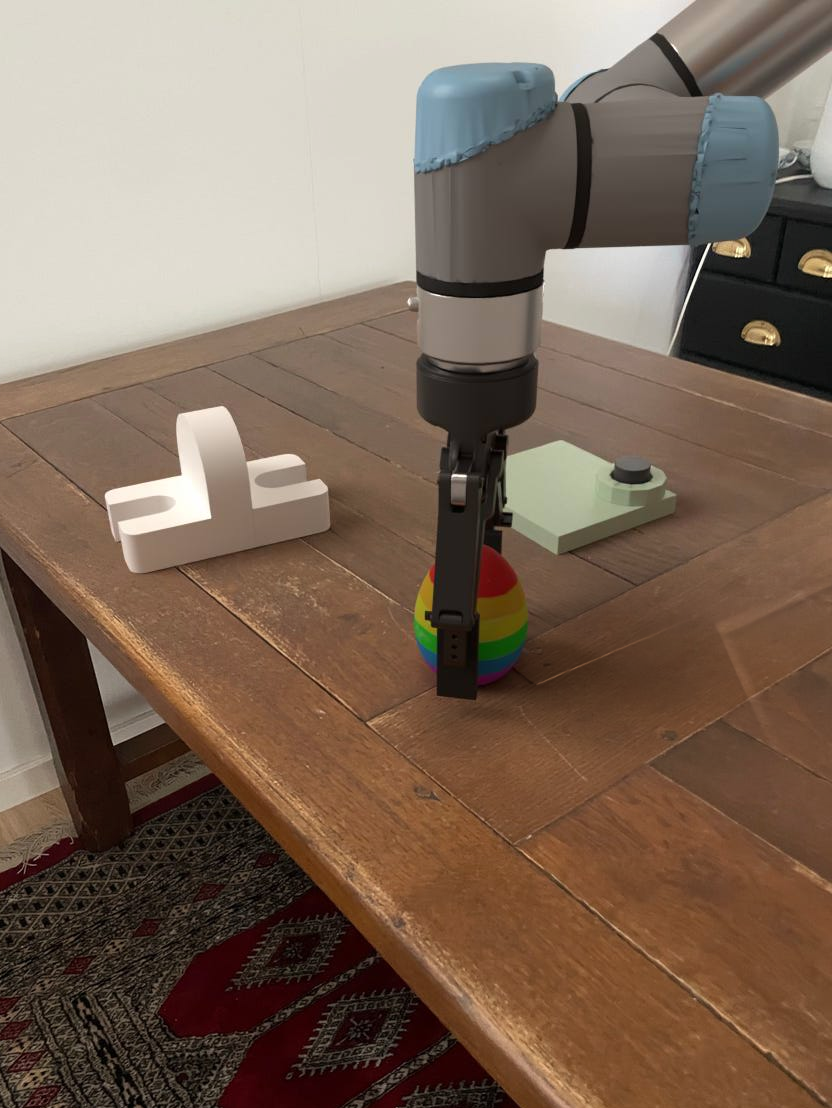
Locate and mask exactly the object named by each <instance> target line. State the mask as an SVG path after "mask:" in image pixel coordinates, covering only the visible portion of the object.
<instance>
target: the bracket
mask: <svg viewBox="0 0 832 1108" xmlns="http://www.w3.org/2000/svg"><path fill="white" fill-rule="evenodd" d="M175 424H176V426H175V431H176V444H177V451H178V458H179V467H180V471H181V475H175V476H172V477H166V478H161V479H156V480H152V481H146V482H142V483H137V484H132V485H127V486H123V487H118V488H117V487H116V488H113V489H111V490H108V491H106V492H105V494H104V499H105V504H106V509H107V515H108V521H109V526H110V531H111V534H112V536H113V538H114V541H115V542H116V543H119V542H121V549H122V553H123V557H124V561H125V564H126V566H127V568H128V570H129V572H130V573H131V572H132V573H133V574H147V573H151V572H155V571H160V570H164V569H169V568H173V567H177V566H182V565H185V564H190V563H194V562H198V561H204V560H208V559H212V558H215V557H221V556H225V555H229V554H233V553H237V552H243V551H246V550H251V549H255V548H259V547H260V548H261V547H264V546H268V545H272V544H273V545H274V544H276V543H281V542H287V541H290V540H294V539H298V538H302V537H307V536H311V535H316V534H321V533H323V532H326V531H328V530H329V529H330V528H331V515H330V514H331V513H330V499H329V487H328V486H327V485H326V484H325V482H323V480H322V479H320V478H317V479H312V480H307V479H308V478H307V465H306V463H305V462H304V461H303V460H302V458H300V456H298V455H297V454H293V453H284V454H279V455H273V456H269V457H264V458H259V459H255V460H254V459H253V460H249V461H247V458H246V454H245V450H244V446H243V443H242V440H241V437H240V433H239V431H238V428H237V425H236V424H235V421H234V419H233V417H232V415H231V413H230V411H229V410H228V409H227V408H226V407H225V406H223V405H220V406H215V407H214V406H213V407H210V408H209V407H208V408H203V409H199V410H194V411H187V412H182V413H179V414H178V415H177V417H176V423H175Z"/></svg>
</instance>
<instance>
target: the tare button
mask: <svg viewBox="0 0 832 1108" xmlns="http://www.w3.org/2000/svg"><path fill="white" fill-rule="evenodd" d="M614 463H615V464H614V474H613V479H614V480H615V481H617V482H619V483H624V484H630V485H635V484H644V483H647V482H648V481H649V476H650V469H651V466H652V463H651V462H650V461H649V460H648V459H645V458H643V457H638V456H623V457H619V458H617V459H616V460H615V461H614Z"/></svg>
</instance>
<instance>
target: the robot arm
mask: <svg viewBox="0 0 832 1108" xmlns="http://www.w3.org/2000/svg"><path fill="white" fill-rule="evenodd" d="M831 52H832V0H694V1H693V2H691V3H690V4H689V5H688V6H686V7H685V8H684V9H683V10H681V11H680V12H679V13H677V14H676V15H675V16H674V17H673V18H671V19H670V20H669V21H668V22H667V23H665V24H664V25H663V26H661V27H660V28H659V29H657V30H656V32H655V33H653V34H652V35H651V36H650V37H648V38H647V39H646V40H644V41H643V42H641V43H640V44H638V45H637V46H636V47H635V48H633V49H632V50H631V51H630V52H628V53H627V54H625V56H623V57H622V58H621V59H619V60H618V61H617V62H616V63H614V64H613V65H612V66H611V67H608V68H600V69H598V70H596V71H593V72H590V73H587V74H585V75H583V76H581V77H579V78H577V79H576V80H575V81H574V82H573V83H571V84H570V85H569V86H568V87H567V88H566V90H564V92H563V93H562V94H561V96H560V97H559V95H558V93H557V92H556V77H555V75H554V72H553V69H551V68H550V66H547V65H546V64H543V63H536V62H522V61H521V62H517V61H516V62H515V61H514V62H476V63H475V62H474V63H463V64H455V65H449V66H444V67H443V66H442V67H440V68H436V69H435V70H433V71H431V72H430V73H428V74H427V75H426V76H425V77H424V79H423V80H422V82H421V84H420V86H418V89H417V93H416V100H415V101H416V102H415V103H416V104H415V105H416V106H415V108H416V109H415V131H414V132H415V135H414V158H413V191H414V192H413V193H414V196H413V197H414V237H415V238H414V239H415V282H416V295H410V296H408V299H407V301H406V307H407V310H409V312H412V313H418V319H417V320H416V347H417V348H418V350H419V351H420V352H421V354H420V356H419V357H418V358H417V359H416V363H415V366H416V367H415V368H416V372H415V373H416V375H415V377H416V382H415V383H416V410H417V413H418V415H419V416H420V417H421V418H422V419H423V420H424V421H425V422H426V423H428V424H429V425H431V426H433V427H438V428H441V429H443V430H444V431H445V432H447V437H446V446H442V447H441V449H440V454H439V455H440V457H439V470H440V471H439V473H438V475H437V479H436V484H437V486H438V487H437V488H438V492H437V493H438V494H437V495H438V496H437V497H438V498H437V499H438V500H437V502H438V504H437V506H438V507H437V509H438V510H437V523H436V524H437V525H436V541H435V554H434V555H435V557H434V564H435V571H434V587H433V602H432V611H425V620H429V621H430V622H431V627H432V628H437V674H436V697H444V698H452V699H461V700H470V701H477V697H478V690H479V689H478V687H479V686H478V659H479V626H480V614H478V612H477V601H478V591H479V581H480V571H481V561H482V552H483V544H484V545H487V546H489V547H491V548H492V549H494V550H496V551H497V552H498V553H499V554H500V555H502V554H503V550H502V549H503V532H504V531H503V530H501V529H496V528H509V529H512V528H511V527H512V521H513V513H512V512H503V508H505V504H507V497H506V458H507V456H508V451H509V445H510V439H509V438H510V437H509V434H506V430H510V429H513V428H515V427H518V426H520V425H522V424H524V423H526V422H527V421H528V420H530V419H531V417H533V415H534V413H535V411H536V409H537V399H538V381H539V364H540V362H539V359H538V357H537V356H536V354H535V352H536V351H537V350H538V349H539V348H540V347H541V344H542V343H541V342H542V331H543V328H542V327H543V312H544V300H545V299H544V296H545V279H544V278H545V277H544V276H545V275H544V274H545V273H544V272H545V261H546V254H547V251H549V250H575V249H602V248H603V249H604V248H607V249H608V248H635V247H637V248H638V247H667V246H668V247H669V246H689V248H697V247H699V246H700V245H701V246H702V245H707V244H708V245H710V244H717V243H725V242H733V241H740V240H743V239H744V238H747V237H748V236H750V235H751V234H752V233H754V231H756V230H757V228H758V227H759V226H760V225H761V223H762V221H763V220H764V218H765V216H766V214H767V212H768V210H769V208H770V205H771V202H772V199H773V195H774V192H775V187H776V182H777V177H778V170H779V162H780V135H779V126H778V121H777V117H776V115H775V113H774V111H773V109H772V106H771V105H770V104H769V103H768V102H767V101H766V99H768V98H769V97H771V96H772V95H774V94H775V93H776V92H777V91H780V90H781V88H783V87H785V86H786V85H787V84H788V83H790V82H791V81H793V80H794V79H795V78H797V77H798V76H799V75H801V74H802V73H804V72H805V71H806V70H808V69H809V68H810V67H812V66H813V65H814V64H816V63H817V62H818V61H820V60H821V59H822V58H824V57H825V56H827V55H829V53H831ZM502 556H503V555H502Z"/></svg>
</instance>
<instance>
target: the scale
mask: <svg viewBox="0 0 832 1108" xmlns="http://www.w3.org/2000/svg"><path fill="white" fill-rule="evenodd" d="M614 464H615V462H613V463H612V462H609V461H608V460H605V459H604V458H601V457H599V456H597V455H595V454H594V453H591V452H588V451H586V450H584V449H582V448H580V447H578V446H576V445H574V444H571V443H570V442H567V441H566V440H563V439H559V440H556V441H552V442H549V443H546V444H543V445H539V446H536V447H533V448H530V449H526V450H523V451H520V452H517V453H514V454H509V455H507V458H506V497H507V504H505V508H503V512H512V513H513V521H512V527H511V528H510V529H513V530H514V531H517V532H518V533H520V534H522V535H523V536H525V537H526V538H528V539H530V540H531V541H532V542H534V543H536V544H538V545H539V546H541V547H542V548H545V549H546V550H548V551H549V552H551V553H553V554H554V555H556V556H558V555H562V554H565V553H567V552H570V551H573V550H575V549H579V548H581V547H584V546H586V545H589V544H592V543H595V542H597V541H598V542H599V541H600V540H603V539H606V538H608V537H611V536H614V535H616V534H620V533H623V532H624V531H625V532H626V531H628V530H630V529H633V528H636V527H639V526H642V525H644V524H647V523H649V522H652V521H655V520H658V519H661V518H663V517H666V516H669V515H671V514H674V513H675V511H676V504H677V497H678V494H676V493H674V492H673V491H670V490H668V489H666V488H667V481H668V477H667V476H666V474H665V473H664V470H661V469H660V468H658V467H656V466H653V465H651V469H650V476H649V481H648V482H647V483H644V484H635V485H630V484H624V483H619V482H617V481H615V480H614V479H613V474H614Z"/></svg>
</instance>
